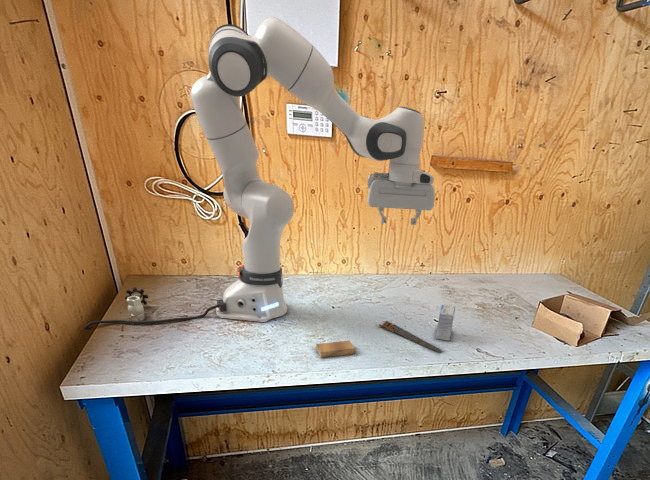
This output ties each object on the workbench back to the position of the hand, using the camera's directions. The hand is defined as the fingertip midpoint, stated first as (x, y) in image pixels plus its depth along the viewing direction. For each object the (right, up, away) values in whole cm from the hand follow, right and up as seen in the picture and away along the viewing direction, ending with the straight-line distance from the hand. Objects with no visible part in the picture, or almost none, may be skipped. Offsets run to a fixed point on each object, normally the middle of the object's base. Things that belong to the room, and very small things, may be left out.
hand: (398, 223), depth 135 cm
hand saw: (+3, -35, 0) cm, 35 cm away
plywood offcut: (-19, -41, -11) cm, 46 cm away
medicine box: (+15, -34, +4) cm, 37 cm away
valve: (-81, -28, 0) cm, 85 cm away
